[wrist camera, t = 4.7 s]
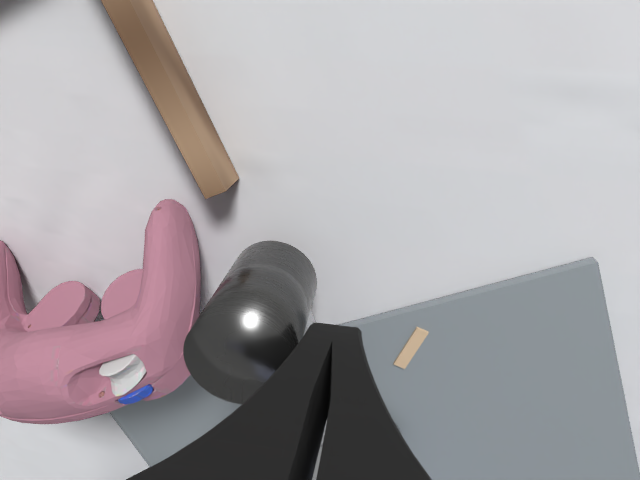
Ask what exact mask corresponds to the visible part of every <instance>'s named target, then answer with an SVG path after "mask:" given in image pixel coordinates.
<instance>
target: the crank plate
mask: <svg viewBox="0 0 640 480" xmlns="http://www.w3.org/2000/svg"><path fill="white" fill-rule="evenodd" d="M340 326H349V327H358V328H359V329H360V330H361V332H362V341H363V346H364V350H365V354H366V357H367V361H368V364H369V367H370V370H371V372H372V375H373V377H374V380H375V383H376V385H377V388H378V390H379V392H380V395H381V397H382V399H383V401H384V403H385V405H386V407H387V409H388V411H389V413H390V415H391V417H392V419H393V421H394V422H395V423H396V424H397V425H398V427H399V428H400V431H401V433H402V436H403V438H404V440H405V441H406V443H407V445H408V446H409V448H410V449H411V451H412V453H413V454H414V456H415V457H416V458H417V460H418V461H419V462H420V464H421V465H422V467H423V468H424V469H425V471H426V472H427V474H428V475H429V476H430V478H431V479H432V480H640V472H639V467H638V462H637V457H636V452H635V447H634V442H633V437H632V432H631V427H630V422H629V417H628V412H627V407H626V401H625V396H624V391H623V386H622V381H621V376H620V371H619V366H618V361H617V356H616V351H615V346H614V341H613V336H612V331H611V326H610V321H609V315H608V310H607V305H606V300H605V295H604V290H603V285H602V280H601V275H600V270H599V265H598V262H597V261H596V260H595V259H594V258H593V257H591V258H587V259H584V260H580V261H576V262H572V263H569V264H565V265H561V266H557V267H554V268H550V269H546V270H542V271H539V272H535V273H531V274H527V275H524V276H520V277H516V278H512V279H509V280H505V281H501V282H497V283H494V284H490V285H486V286H482V287H479V288H475V289H471V290H467V291H464V292H460V293H456V294H452V295H449V296H445V297H441V298H438V299H434V300H430V301H426V302H423V303H419V304H415V305H411V306H408V307H404V308H400V309H396V310H393V311H389V312H385V313H381V314H378V315H374V316H370V317H366V318H363V319H359V320H355V321H351V322H348V323H344V324H340ZM241 405H242V404H237V403H232V402H228V401H225V400H223V399H220V398H218V397H216V396H214V395H212V394H211V393H209V392H208V391H206V390H205V389H204V388H202V387H201V386H200V385H199V384H198V383H197V382H196V381H195V379H194V378H193V377H192V375H190V376H189V377H188V378H187V379H186V380H185V381H184V382H183V383H182V384H181V385H180V386H179V387H178V388H177V389H175V390H174V391H172V392H171V393H169V394H167V395H165V396H163V397H161V398H158V399H154V400H150V401H144V400H140V401H138V402H135V403H132V404H128V405H125V406H123V407H120V408H118V409H116V410H113V411H111V412H109V413H110V414H111V415H112V417H113V418H114V419H115V421H116V422H117V423H118V425H119V426H120V427H121V429H122V430H123V431H124V433H125V434H126V435H127V437H128V438H129V440H130V441H131V442H132V444H133V445H134V446H135V448H136V449H137V450H138V452H139V453H140V454H141V456H142V457H143V458H144V460H145V461H146V462H147V464H148V465H149V466H150V467H151V466H153V465H155V464H157V463H159V462H161V461H163V460H164V459H166V458H168V457H170V456H171V455H173V454H174V453H176V452H178V451H179V450H181V449H182V448H184V447H185V446H187V445H188V444H190V443H192V442H193V441H195V440H196V439H198V438H199V437H201V436H202V435H204V434H205V433H207V432H208V431H209V430H211V429H212V428H213V427H215V426H216V425H217V424H219V423H220V422H221V421H222V420H224V419H225V418H226V417H227V416H229V415H230V414H231V413H233V412H234V411H235V410H236V409H237V408H238V407H240V406H241Z"/></svg>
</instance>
